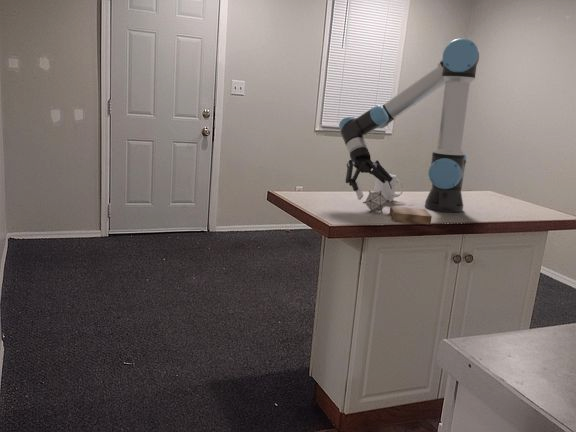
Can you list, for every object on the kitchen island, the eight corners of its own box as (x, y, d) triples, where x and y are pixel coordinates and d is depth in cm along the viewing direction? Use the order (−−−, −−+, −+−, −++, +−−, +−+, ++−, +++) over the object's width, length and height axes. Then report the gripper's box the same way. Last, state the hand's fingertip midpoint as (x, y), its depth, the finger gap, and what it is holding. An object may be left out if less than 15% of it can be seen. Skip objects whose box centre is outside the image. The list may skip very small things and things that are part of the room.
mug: (402, 203, 221) (405, 178, 218) (373, 200, 222) (376, 175, 220) (401, 199, 229) (404, 175, 226) (373, 196, 230) (376, 172, 228)
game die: (377, 222, 199) (388, 205, 192) (357, 212, 200) (366, 195, 192) (383, 207, 205) (394, 190, 198) (364, 198, 206) (373, 180, 198)
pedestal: (424, 216, 198) (425, 209, 197) (430, 224, 186) (431, 216, 185) (389, 213, 198) (390, 206, 198) (393, 221, 187) (394, 212, 186)
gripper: (379, 158, 216) (397, 202, 206) (327, 157, 205) (343, 203, 195) (389, 146, 210) (408, 191, 200) (335, 145, 199) (352, 192, 189)
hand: (376, 197), depth 198 cm, fingers open, 13 cm apart
